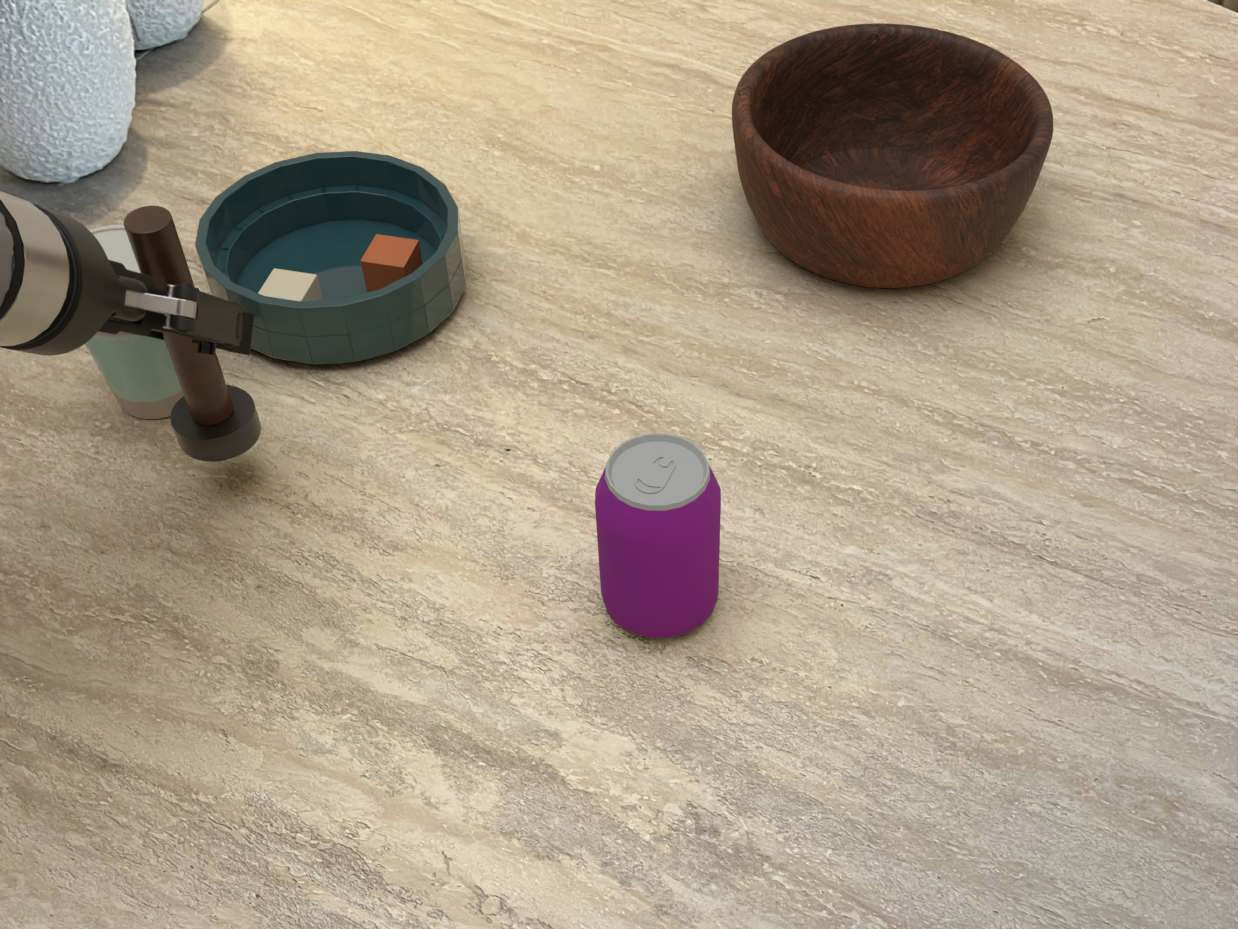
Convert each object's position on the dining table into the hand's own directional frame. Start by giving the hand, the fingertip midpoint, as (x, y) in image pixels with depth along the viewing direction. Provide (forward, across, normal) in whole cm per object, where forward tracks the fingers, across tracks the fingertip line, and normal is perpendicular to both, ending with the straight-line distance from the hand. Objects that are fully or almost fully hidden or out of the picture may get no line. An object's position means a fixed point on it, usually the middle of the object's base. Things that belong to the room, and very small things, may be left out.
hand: (221, 330), depth 98 cm
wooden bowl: (+33, +40, +19) cm, 55 cm away
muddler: (+1, 0, -7) cm, 7 cm away
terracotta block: (+19, +5, +6) cm, 20 cm away
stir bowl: (+19, 0, +6) cm, 20 cm away
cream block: (+15, -1, +2) cm, 15 cm away
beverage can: (+1, +32, -13) cm, 35 cm away
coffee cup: (+9, -9, -5) cm, 14 cm away
